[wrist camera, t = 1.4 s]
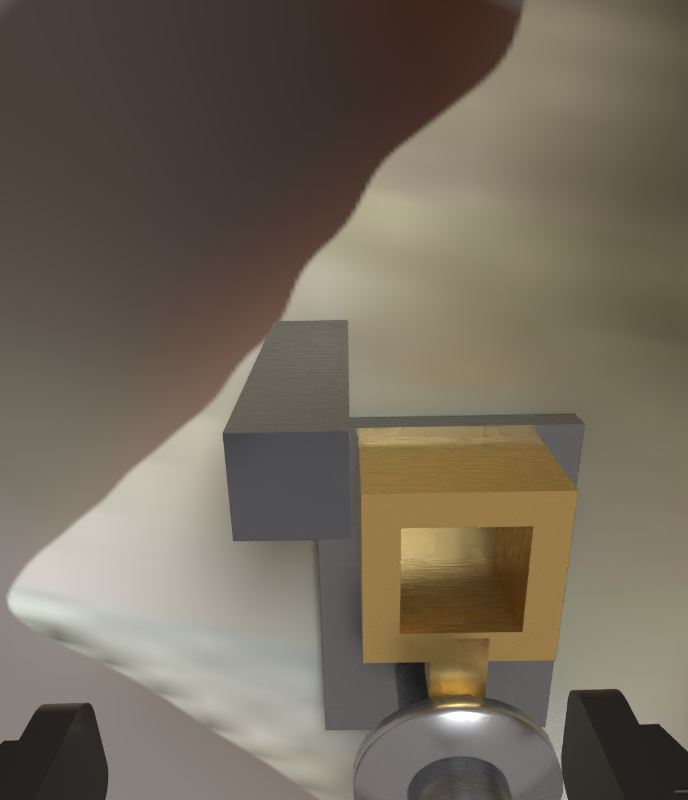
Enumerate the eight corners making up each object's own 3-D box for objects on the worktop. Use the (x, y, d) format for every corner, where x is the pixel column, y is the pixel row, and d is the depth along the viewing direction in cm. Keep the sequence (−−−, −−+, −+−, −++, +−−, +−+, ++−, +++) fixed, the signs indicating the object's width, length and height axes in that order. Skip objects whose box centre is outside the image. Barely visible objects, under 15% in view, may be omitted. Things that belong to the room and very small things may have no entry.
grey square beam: (274, 321, 27) (222, 433, 16) (347, 320, 27) (348, 431, 16) (278, 390, 28) (233, 540, 17) (348, 389, 28) (350, 539, 17)
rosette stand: (314, 418, 28) (290, 612, 16) (574, 413, 28) (753, 605, 16) (326, 724, 35) (317, 1027, 23) (537, 722, 35) (641, 1024, 23)
